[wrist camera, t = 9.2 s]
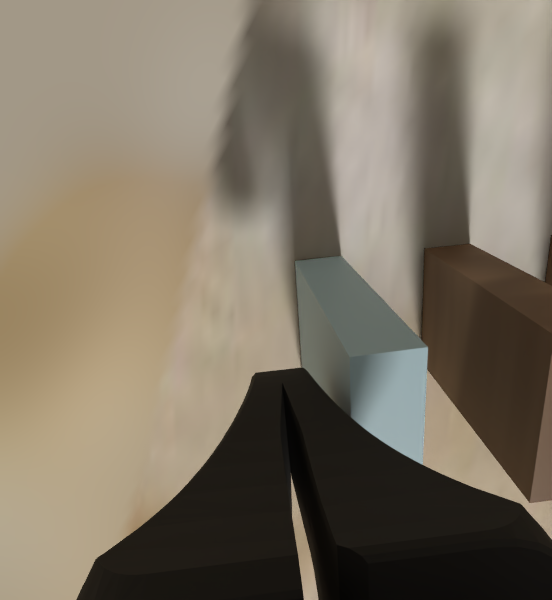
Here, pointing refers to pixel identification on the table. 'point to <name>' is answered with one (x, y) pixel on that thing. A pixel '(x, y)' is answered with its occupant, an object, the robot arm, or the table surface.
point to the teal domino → (362, 353)
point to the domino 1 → (494, 356)
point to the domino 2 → (549, 266)
